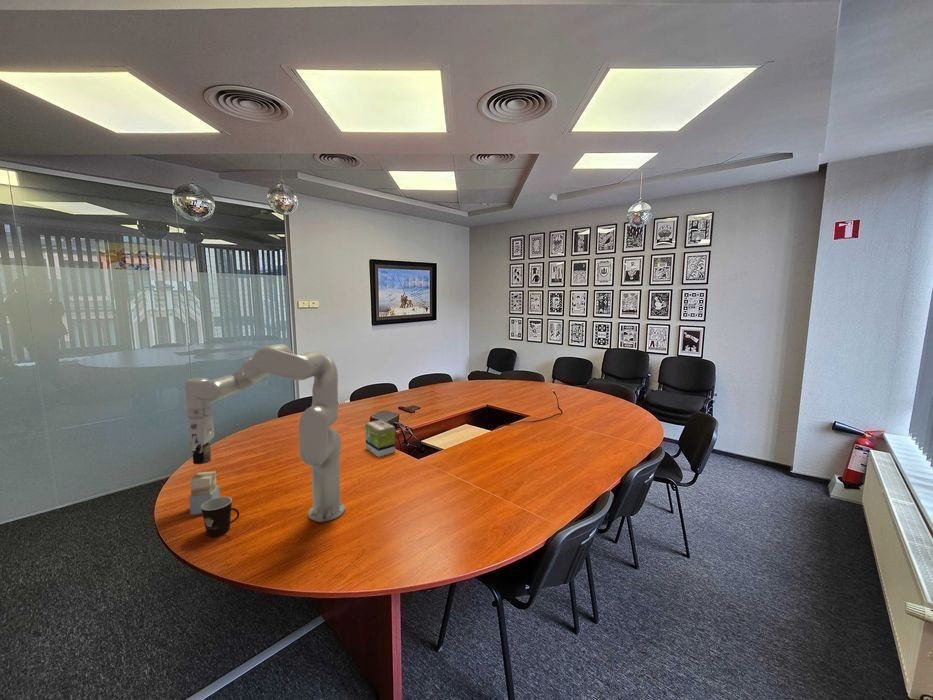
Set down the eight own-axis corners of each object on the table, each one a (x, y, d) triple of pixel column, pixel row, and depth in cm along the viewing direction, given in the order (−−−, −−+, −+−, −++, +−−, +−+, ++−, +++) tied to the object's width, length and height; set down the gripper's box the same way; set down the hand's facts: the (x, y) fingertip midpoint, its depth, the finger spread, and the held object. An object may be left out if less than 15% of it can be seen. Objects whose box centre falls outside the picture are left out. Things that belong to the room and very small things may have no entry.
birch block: (210, 493, 135) (209, 478, 134) (191, 495, 133) (190, 480, 133) (216, 486, 141) (215, 471, 140) (198, 488, 139) (197, 472, 139)
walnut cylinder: (207, 463, 134) (206, 447, 133) (190, 465, 133) (189, 449, 132) (213, 458, 139) (212, 442, 138) (197, 459, 138) (196, 443, 137)
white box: (212, 512, 135) (211, 494, 135) (190, 515, 134) (189, 496, 133) (219, 502, 142) (218, 485, 141) (198, 505, 140) (197, 487, 140)
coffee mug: (198, 533, 123) (196, 504, 122) (226, 521, 130) (224, 494, 129) (214, 546, 117) (212, 516, 116) (242, 532, 124) (241, 504, 123)
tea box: (364, 449, 198) (364, 422, 196) (381, 444, 205) (381, 419, 203) (378, 458, 187) (378, 429, 185) (395, 453, 194) (395, 425, 192)
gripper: (201, 418, 126) (204, 468, 129) (220, 405, 143) (222, 450, 145) (175, 419, 125) (179, 470, 127) (197, 406, 141) (200, 451, 143)
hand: (202, 459), depth 136 cm, fingers closed on walnut cylinder, 5 cm apart
